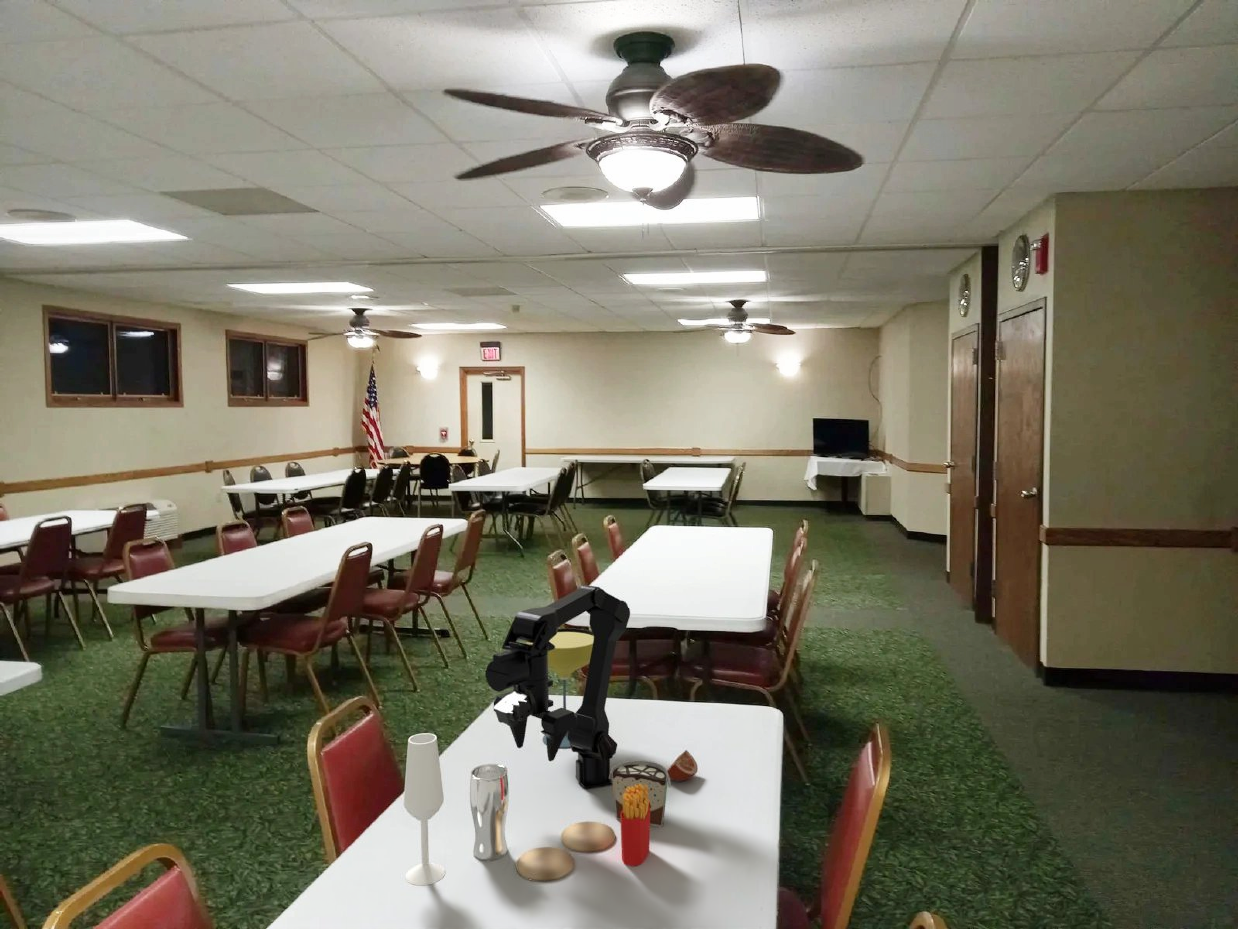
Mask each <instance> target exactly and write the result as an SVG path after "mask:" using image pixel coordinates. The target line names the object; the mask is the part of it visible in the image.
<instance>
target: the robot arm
mask: <svg viewBox="0 0 1238 929" xmlns="http://www.w3.org/2000/svg"><path fill="white" fill-rule="evenodd" d="M585 612H586V613H587V614H589V621H588V622H589V627H590V631H592V633H593V636H594V640H593V646H592V651H591V657H590V662H589V664H588V670H587V674H586V679H585V684H584V685H585V686H584V691H583V696H582V702H581V705H580V706H579V708H578V709H577V710H576V711H575V712H574V711H572V710H569V709H567V708H566V709H564V708H563V707H559V708H557V709H555V710H551V711H550V710H549V708H551V707H553V706H554V700H553V699H550V696H549V695H550V694H549V692H550V691H549V690H550V689H549V688H550V687H551V686H552V687H553V686H554V680H553V679H550V678H549V669H548V651H550V650H553V649H555V645H553V644H552V643H551V642H549V640H551V639H552V638H553V637H554V636H555V635H556V634H557V631H558V629H560V627H561V626H563V625H565V624H566V623H568V622H570V621H572V620H573V619H575V618H576V617H578V616H580V615H582V614H584V613H585ZM630 617H631V609H630V607H629V606H628V603H627V602H626V601H624V600H621V599H619V598H618V597H615V596H614V595H612V594H609V593H608V592H606V591H605V590H604V589H602V588H601V587H599V586H594V585H589V584H583V585H580V586H579V587H578V589H576V590H574V591H573V592H571V593H569V594H567V595H565V596H562V597H561V598H559V599H557V600H556V601H554V602H552V603H550V604H548V605H546V606H542V607H532V608H529V609H525V610H521V611H518V612H517V613H516V614H515V616H514V619H513V620H512V623H511V625H510V627H509V630H508V632H507V634H506V637H505V639H504V642H503V644H502V645H501V646H502V647H501V649H502V650H505V651H502V652H496V653H493V655H492V661H490V662H489V663H488V664H487V666H486V668H485V673H484V674H485V679H486V680H485V681H486V682H487V684H488V686H489V687H490V688H491V689H492V690H493V691H495V692H499V693H500V692H502V691H504V690H507V689H510V688H512V687H513V690H512V691H510V692H509V691H508V692H506V693H503V694H500V695H498V696H496V698H495V699H494V700H493V712H495V715H496V718H497V720H498V722H499V723H502V724H505V725H507V726H509V729H510V731H511V734H512V737H513V740H514V742H515V744H516V747H517V749H522V748H523V746H524V743H525V737H526V730H527V725H528V724H527V723H528V717H530V716H532V717H533V718H538V719H539V720H540V721H541V722H540V723H541V724H540V725H541V727H542V730H541V731H540V732H541V733H542V734H543V736H546V742H547V745H546V753H547V760H548V761H549V762H552V761H554V760H555V758H556V756H557V754H558V751H559V749H560V748H559V747H560V745H561V743H562V741H563V739H564V737H565V735H566V733H567V732H568V740H569V742H570V746H571V752H573V753H577V759H576V760H575V778H576V780H577V781H578V783H580V786H582V787H583V789H585V790H587V789H593V788H597V787H603V786H609V785H613V784H612V777H611V778H610V779H609V775H610V771H611V766H610V765H611V759H613V757H614V755H616V754H617V748H618V743H617V742H616V741H615V740H614V738H612V737H611V735H610V734H609V732H610V722H609V719H608V716H607V712H606V710H605V709H606V708H605V707H606V703H607V698H608V696H607V695H608V692H609V691H608V690H609V684H610V681H611V674H612V668H613V665H614V664H613V663H614V656H615V652H616V645H617V642H618V640H619V639H620V638H621V637H622V635H623V634H624V633H625V632H626V631H627V628H628V627H627V626H628V623H629V620H630ZM518 641H522V642H518ZM523 642H524V643H523ZM525 642H526V643H527V642H530V643H533V644H531V645H529V644H526V643H525Z"/></svg>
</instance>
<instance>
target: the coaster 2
mask: <svg viewBox="0 0 1238 929" xmlns="http://www.w3.org/2000/svg"><path fill="white" fill-rule="evenodd" d="M560 839H561V844H562V845H563V846H564V847H566V848H567V849H569V850H571V851H574V852H578V853H579V852H580V853H594V852H598V851H599V852H600V851H602V850H605V849H607V848H609V847H610V846H612V845H613V843H614V842H615V839H616V834H615V830H614V829H613V828H612V827H611V826H609V825H608V824H605V823H602V822H598V821H580V822H576V823H573V824H571V825H568V826H567V827H565V828H564V829H563V830H562V832H561V835H560Z"/></svg>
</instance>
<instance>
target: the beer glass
mask: <svg viewBox="0 0 1238 929" xmlns="http://www.w3.org/2000/svg"><path fill="white" fill-rule="evenodd" d="M469 784H470V785H469V805H470V811H471V816H472V820H473V821H472V822H473V826H474V827H473V828H474V833H475V836H474V837H475V838H474V845H473V852H472V853H473V855H474V857H475V858H476V859H478V860H480V861H487V860H490V861H497V860H499V859H501V858H503V857H505V855H506V854H507V852H508V845H507V839H506V821H507V816H508V810H509V801H510V786H509V784H510V783H509V775H508V768H507V767H506V766H505V765H502V764H500V763H499V764H498V763H485V764H481V765H478V766H476V767H474V768H473V769H471V771H470V781H469ZM487 862H488V861H487Z"/></svg>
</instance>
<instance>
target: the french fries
mask: <svg viewBox="0 0 1238 929" xmlns="http://www.w3.org/2000/svg"><path fill="white" fill-rule="evenodd" d="M644 789H645V791H644ZM625 791H626V793H624V794H623V797H622V800H623V810H622V812H621V813H620V820H619V821H620V839H621V840H620V841H621V842H620V843H621V844H620V845H621V860H622V863H623V865H627V866H632V867H636V866H639V865H642V864H643V863H644V861H645V860H646V858H647V857H648V855H649V854H650V842H651V841H650V833H651V832H650V831H651V825H650V802H649V800H648V786H647V785H645V787H643V786H642V785H641V784H638V786H637V785H636V784H635V785H634V787H633V786H631V788H630V787H627V789H625Z"/></svg>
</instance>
